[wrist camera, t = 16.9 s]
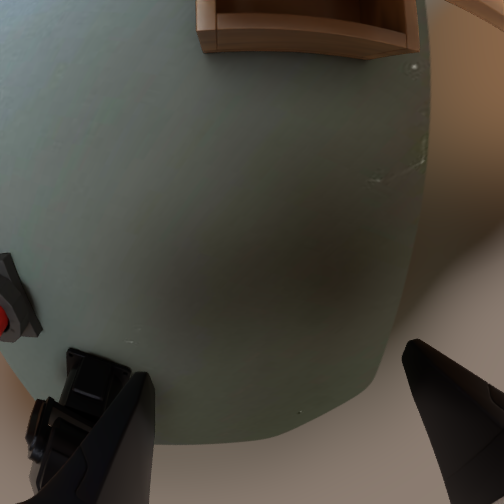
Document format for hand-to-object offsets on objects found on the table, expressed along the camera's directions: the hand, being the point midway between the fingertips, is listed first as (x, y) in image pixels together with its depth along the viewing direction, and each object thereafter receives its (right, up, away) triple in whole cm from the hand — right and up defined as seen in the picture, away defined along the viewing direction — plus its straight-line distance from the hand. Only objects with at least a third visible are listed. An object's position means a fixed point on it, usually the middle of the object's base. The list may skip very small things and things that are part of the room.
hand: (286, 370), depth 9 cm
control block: (-23, 0, +11) cm, 25 cm away
